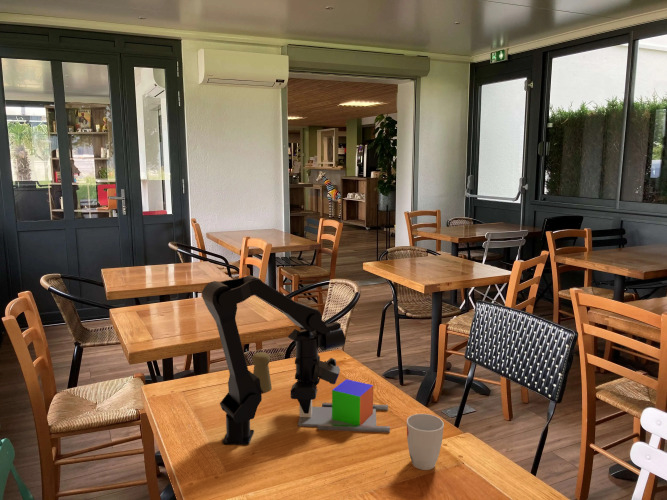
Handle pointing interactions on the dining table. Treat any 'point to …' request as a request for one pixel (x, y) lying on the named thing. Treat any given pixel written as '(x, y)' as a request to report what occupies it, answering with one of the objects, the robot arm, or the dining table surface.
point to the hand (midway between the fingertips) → (307, 410)
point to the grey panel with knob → (326, 417)
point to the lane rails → (355, 427)
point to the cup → (424, 440)
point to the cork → (262, 370)
